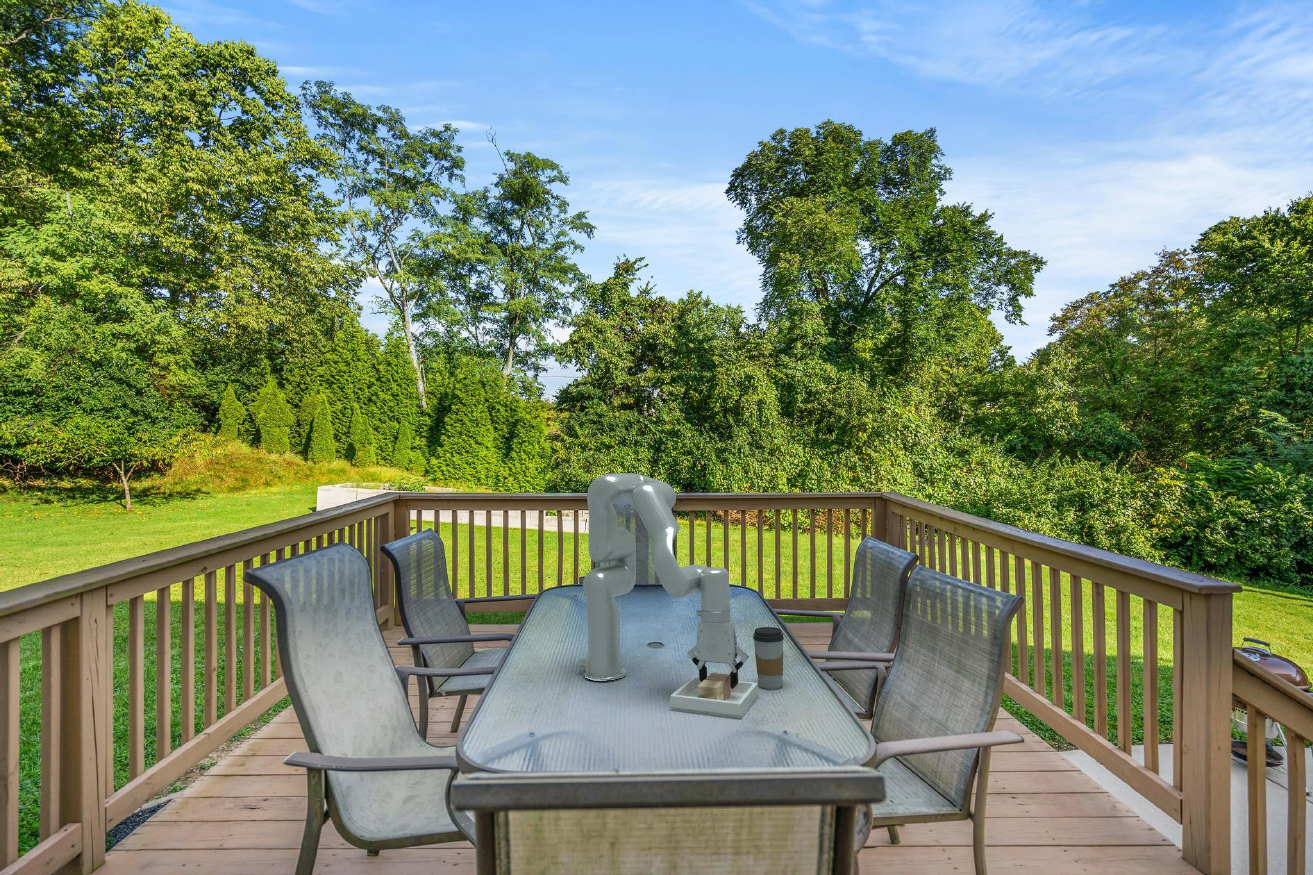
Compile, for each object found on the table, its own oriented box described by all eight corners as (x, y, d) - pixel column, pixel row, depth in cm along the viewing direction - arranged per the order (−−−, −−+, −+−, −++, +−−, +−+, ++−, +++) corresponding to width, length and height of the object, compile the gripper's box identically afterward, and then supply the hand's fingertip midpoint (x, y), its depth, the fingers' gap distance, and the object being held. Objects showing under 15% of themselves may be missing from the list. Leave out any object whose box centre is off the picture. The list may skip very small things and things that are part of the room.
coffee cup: (786, 691, 165) (783, 634, 166) (754, 690, 167) (751, 633, 168) (786, 681, 173) (783, 626, 174) (755, 680, 175) (753, 626, 176)
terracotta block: (706, 698, 160) (705, 678, 160) (713, 691, 165) (712, 672, 165) (725, 700, 158) (724, 680, 158) (731, 693, 163) (730, 674, 163)
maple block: (698, 706, 155) (697, 685, 155) (705, 699, 159) (704, 679, 160) (717, 708, 153) (716, 687, 153) (723, 701, 157) (723, 681, 157)
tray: (670, 710, 155) (670, 695, 155) (693, 689, 170) (693, 676, 170) (740, 719, 148) (740, 704, 148) (758, 696, 162) (757, 682, 162)
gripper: (679, 617, 163) (682, 686, 162) (744, 621, 156) (747, 693, 155) (690, 611, 170) (692, 677, 169) (752, 614, 163) (755, 684, 161)
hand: (718, 684), depth 162 cm, fingers open, 7 cm apart
